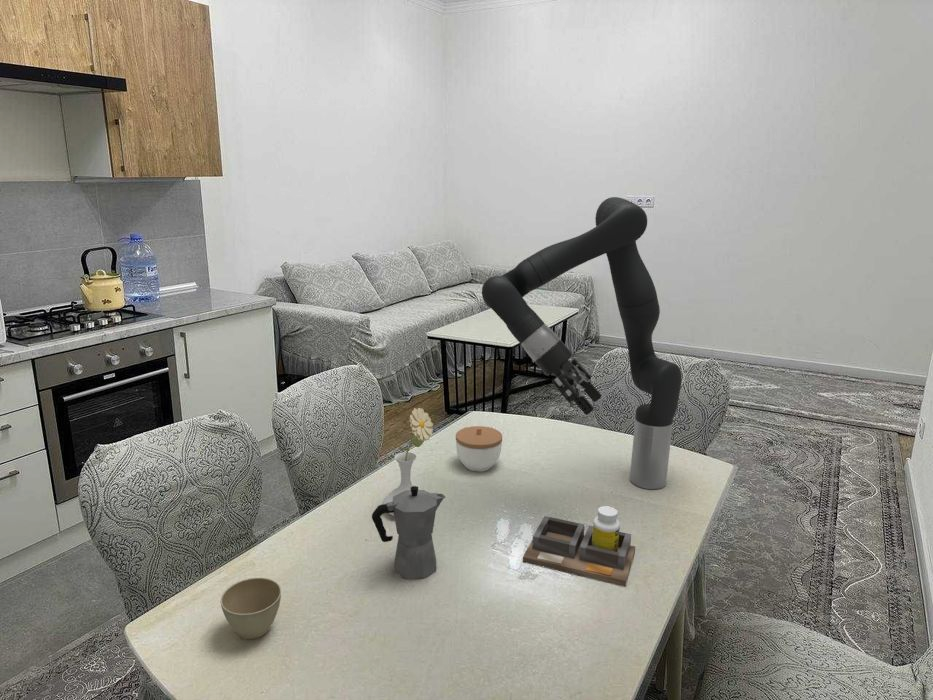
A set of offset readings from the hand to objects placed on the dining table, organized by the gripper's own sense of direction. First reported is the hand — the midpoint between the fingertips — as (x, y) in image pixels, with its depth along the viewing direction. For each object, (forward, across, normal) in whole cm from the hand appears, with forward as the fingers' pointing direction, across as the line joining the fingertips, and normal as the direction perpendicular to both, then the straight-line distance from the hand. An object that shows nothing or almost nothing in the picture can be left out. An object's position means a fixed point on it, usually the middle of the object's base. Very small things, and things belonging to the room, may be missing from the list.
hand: (594, 405), depth 142 cm
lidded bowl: (-3, +17, +44) cm, 47 cm away
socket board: (+21, -14, +19) cm, 32 cm away
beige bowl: (-12, -59, +53) cm, 80 cm away
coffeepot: (0, -32, +41) cm, 52 cm away
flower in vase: (-8, -11, +49) cm, 51 cm away
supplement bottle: (+24, -13, +15) cm, 31 cm away
